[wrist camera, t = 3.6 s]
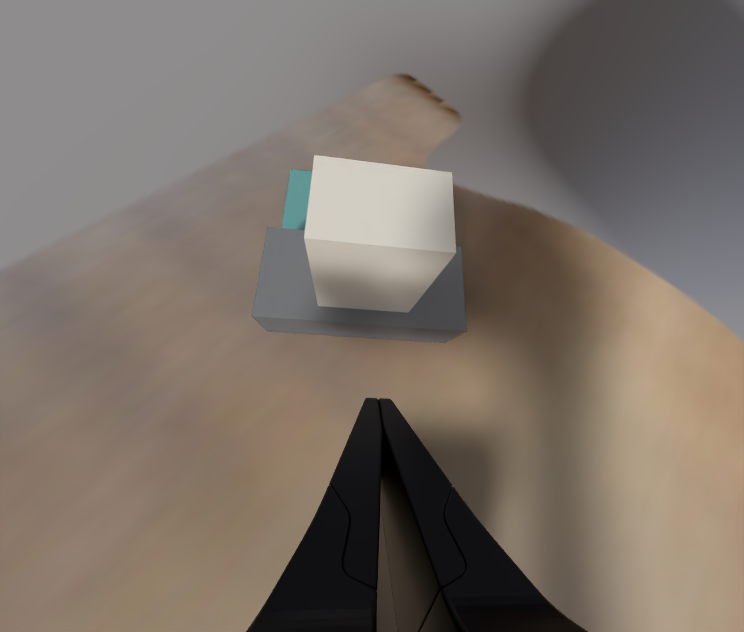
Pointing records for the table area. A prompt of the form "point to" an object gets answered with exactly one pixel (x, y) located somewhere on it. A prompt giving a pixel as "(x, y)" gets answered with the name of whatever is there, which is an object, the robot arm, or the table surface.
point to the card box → (377, 233)
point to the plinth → (303, 315)
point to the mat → (297, 200)
